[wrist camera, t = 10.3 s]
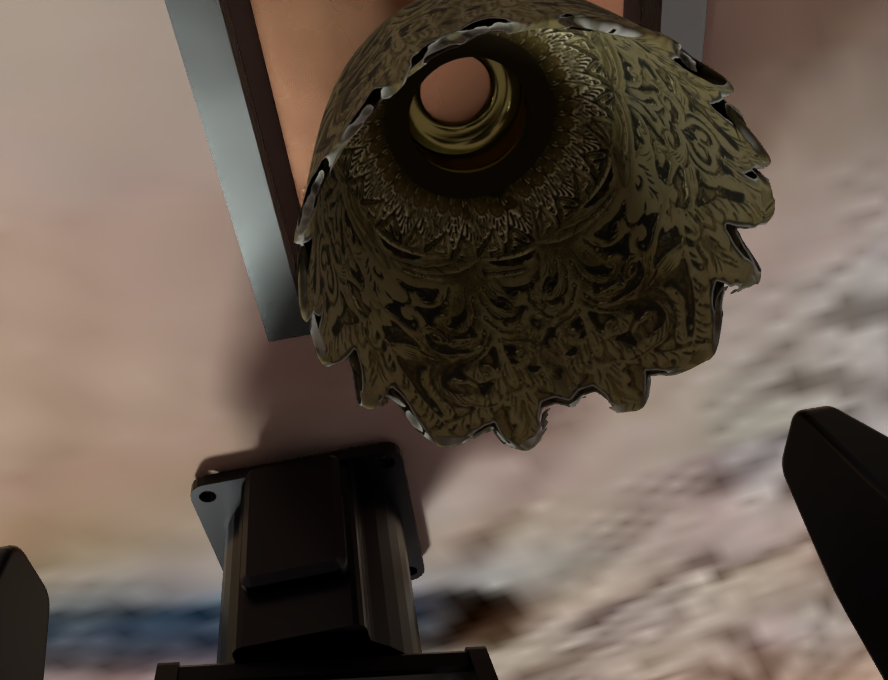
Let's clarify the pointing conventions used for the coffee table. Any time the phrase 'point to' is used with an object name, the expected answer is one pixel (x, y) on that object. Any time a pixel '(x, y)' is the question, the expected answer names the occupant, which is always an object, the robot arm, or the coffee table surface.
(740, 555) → the coffee table surface
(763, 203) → the bronze ornate bell
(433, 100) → the grey double frame
